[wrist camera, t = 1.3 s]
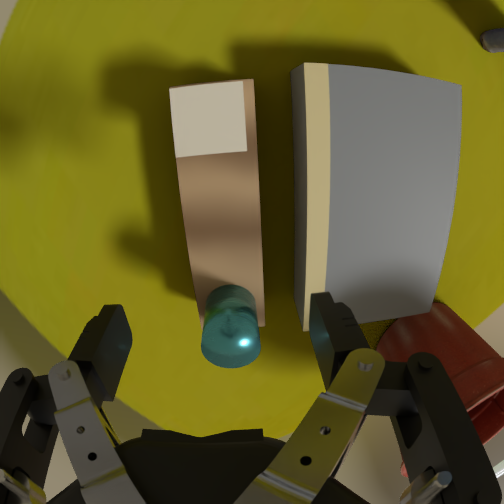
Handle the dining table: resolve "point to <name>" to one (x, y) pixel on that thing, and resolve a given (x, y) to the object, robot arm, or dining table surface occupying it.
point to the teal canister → (230, 327)
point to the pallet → (224, 215)
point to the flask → (493, 40)
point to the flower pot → (453, 362)
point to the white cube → (208, 119)
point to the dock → (372, 187)
